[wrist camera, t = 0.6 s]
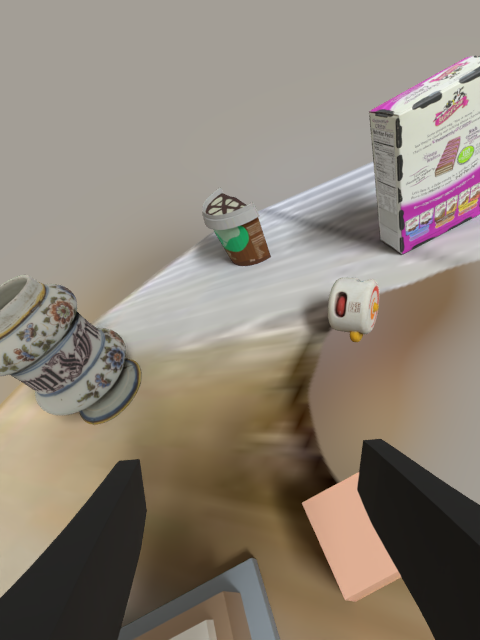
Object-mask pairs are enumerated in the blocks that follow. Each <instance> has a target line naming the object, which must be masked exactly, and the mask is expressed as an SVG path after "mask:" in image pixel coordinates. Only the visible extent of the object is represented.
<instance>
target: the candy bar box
mask: <svg viewBox="0 0 480 640" xmlns="http://www.w3.org/2000/svg"><path fill="white" fill-rule="evenodd" d="M369 114H370V127H371V138H372V149H373V162H374V173H375V183H376V197H377V207H378V219H379V230H380V240H381V241H383V242H384V243H385V244H387V245H389V246H390V247H392V248H393V249H395V250H396V251H398V252H399V253H401V254H405V253H407V252H409V251H410V250H412V249H414V248H416V247H418V246H420V245H422V244H424V243H426V242H428V241H430V240H432V239H433V238H435V237H437V236H439V235H441V234H443V233H445V232H447V231H449V230H451V229H453V228H454V227H456V226H458V225H460V224H462V223H464V222H466V221H468V220H470V219H471V218H473V217H475V216H477V215H479V214H480V56H479V57H477V56H471V57H467V58H464V59H463V60H461V61H459V62H458V63H455V64H454V65H452V66H450V67H448V68H446V69H444V70H442V71H441V72H439V73H437V74H435V75H433V76H432V77H430V78H428V79H426V80H425V81H423V82H421V83H419V84H417V85H415V86H414V87H412V88H410V89H408V90H407V91H405V92H403V93H401V94H399V95H397V96H396V97H394V98H392V99H390V100H389V101H387V102H385V103H383V104H381V105H380V106H378V107H376V108H374V109H372V110H370V111H369Z"/></svg>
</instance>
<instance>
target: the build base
mask: <svg viewBox="0 0 480 640" xmlns="http://www.w3.org/2000/svg"><path fill="white" fill-rule="evenodd" d="M118 640H280V637H279V634H278V631H277V627H276V624H275V621H274V617H273V614H272V611H271V607H270V604H269V601H268V597H267V594H266V590H265V587H264V584H263V580H262V577H261V574H260V570H259V567H258V564H257V560H256V559H254V558H250V559H248V560H247V561H245V562H243V563H241V564H239V565H237V566H235V567H234V568H232V569H230V570H228V571H226V572H224V573H222V574H221V575H219V576H217V577H215V578H213V579H211V580H209V581H208V582H206V583H204V584H202V585H200V586H198V587H196V588H195V589H193V590H191V591H189V592H187V593H185V594H183V595H182V596H180V597H178V598H176V599H174V600H172V601H170V602H169V603H167V604H165V605H163V606H161V607H159V608H157V609H156V610H154V611H152V612H150V613H148V614H146V615H144V616H143V617H141V618H139V619H137V620H135V621H133V622H131V623H130V624H128V625H126V626H124V627H122V628H121V629H120V633H119V637H118Z"/></svg>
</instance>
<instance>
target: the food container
mask: <svg viewBox="0 0 480 640" xmlns="http://www.w3.org/2000/svg"><path fill="white" fill-rule="evenodd" d="M202 210H203V217H204V221H205V224H206V226H207V227H208V228H210V229H213V230H214V232H215V234H216V235H217V237H218V239H219V240H220V242H221V244H222V245H223V247H224V249H225V250H226V252H227V254H228V255H229V257H230V259H231V260H232V262H233V263H234V264H236V265H239V266H250V265H254V264H258V263H260V262H263V261H265V260H267V259H268V258H270V257H271V256H270V253H269V250H268V247H267V244H266V240H265V237H264V234H263V231H262V228H261V225H260V222H259V219H258V217H259V214H258V212H257V210H256V207H255V206H254V204H253V202H252V203H250V204H248V205H246V204H244V203H242V202H241V201H240V200H238V199H237V198H235V197H230V196H227V195H225V194H224V193H223V191H222V189H221V188H219V189H218V190H216V191H215V192H214V193H212V195H210V196H209V197H208V198H207V200H206V201H205V202H204V204H203V207H202Z"/></svg>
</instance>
